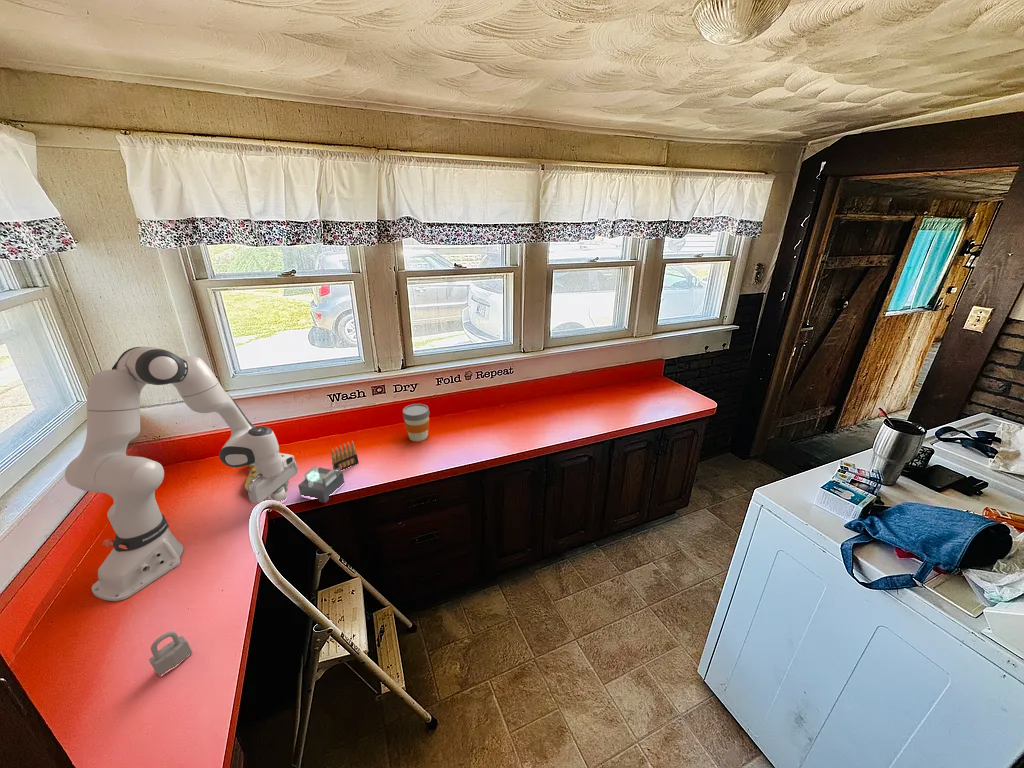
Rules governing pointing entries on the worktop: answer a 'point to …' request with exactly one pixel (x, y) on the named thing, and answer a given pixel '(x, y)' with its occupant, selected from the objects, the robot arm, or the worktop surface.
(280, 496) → the white domed cylinder
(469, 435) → the worktop surface
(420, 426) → the reusable coffee cup
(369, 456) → the worktop surface
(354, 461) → the ammunition clip
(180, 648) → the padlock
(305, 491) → the motor
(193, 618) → the worktop surface
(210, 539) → the worktop surface
